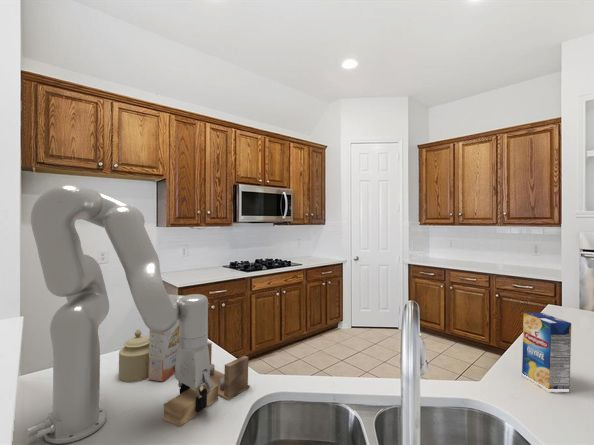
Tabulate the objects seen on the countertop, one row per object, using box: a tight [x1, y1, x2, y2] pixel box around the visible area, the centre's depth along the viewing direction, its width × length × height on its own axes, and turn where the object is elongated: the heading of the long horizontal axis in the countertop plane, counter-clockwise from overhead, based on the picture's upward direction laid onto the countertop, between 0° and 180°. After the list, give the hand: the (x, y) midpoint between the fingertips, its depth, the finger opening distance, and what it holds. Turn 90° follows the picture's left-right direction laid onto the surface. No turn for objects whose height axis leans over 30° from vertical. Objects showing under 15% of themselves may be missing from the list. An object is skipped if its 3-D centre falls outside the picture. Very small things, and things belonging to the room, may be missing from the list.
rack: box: [207, 341, 250, 401], centre depth 100 cm, size 9×20×10 cm, turn 54°
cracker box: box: [147, 320, 179, 383], centre depth 107 cm, size 14×6×21 cm, turn 168°
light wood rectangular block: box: [163, 382, 219, 428], centre depth 86 cm, size 14×6×4 cm, turn 153°
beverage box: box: [521, 312, 572, 390], centre depth 103 cm, size 7×11×22 cm, turn 3°
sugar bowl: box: [118, 329, 149, 383], centre depth 106 cm, size 15×11×15 cm
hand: (192, 404), depth 86 cm, fingers closed on light wood rectangular block, 6 cm apart
